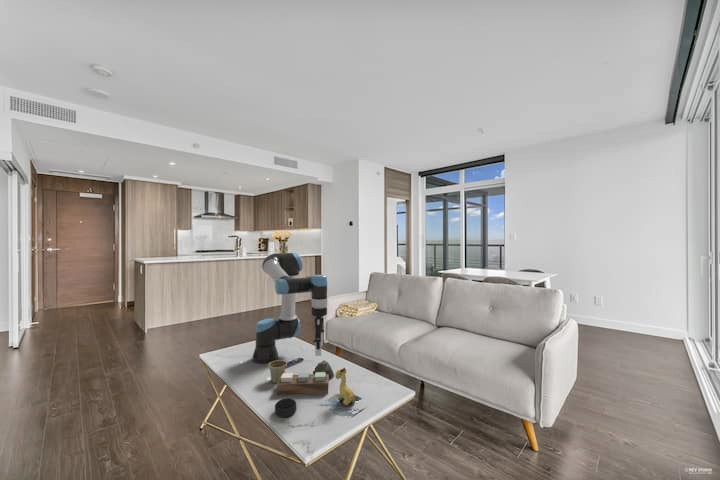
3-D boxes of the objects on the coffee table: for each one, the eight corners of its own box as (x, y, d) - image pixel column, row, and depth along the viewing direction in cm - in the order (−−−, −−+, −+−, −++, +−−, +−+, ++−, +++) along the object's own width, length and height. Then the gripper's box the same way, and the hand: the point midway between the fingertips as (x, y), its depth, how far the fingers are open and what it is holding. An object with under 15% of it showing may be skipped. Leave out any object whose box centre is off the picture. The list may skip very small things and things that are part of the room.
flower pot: (282, 385, 154) (282, 368, 154) (264, 383, 156) (264, 366, 156) (289, 377, 164) (290, 361, 164) (273, 375, 165) (273, 359, 165)
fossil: (307, 375, 164) (314, 356, 168) (319, 379, 170) (325, 360, 174) (320, 381, 157) (327, 361, 160) (332, 384, 163) (339, 365, 166)
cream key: (282, 378, 152) (282, 373, 152) (293, 378, 153) (293, 373, 153) (281, 383, 147) (281, 377, 147) (291, 382, 148) (291, 377, 148)
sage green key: (315, 377, 153) (315, 372, 153) (325, 377, 154) (325, 372, 154) (314, 382, 148) (314, 376, 148) (325, 381, 149) (325, 376, 149)
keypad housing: (280, 385, 155) (280, 375, 155) (328, 383, 156) (328, 373, 156) (276, 395, 145) (276, 384, 145) (328, 393, 146) (328, 383, 146)
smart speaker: (278, 406, 135) (278, 397, 135) (298, 406, 135) (298, 397, 135) (272, 418, 126) (272, 408, 126) (293, 418, 126) (293, 409, 126)
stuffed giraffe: (342, 391, 149) (342, 358, 148) (372, 404, 138) (372, 370, 137) (318, 406, 137) (318, 371, 136) (348, 422, 125) (348, 384, 125)
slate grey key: (299, 377, 153) (299, 372, 153) (309, 377, 153) (309, 372, 153) (297, 382, 148) (297, 377, 148) (308, 382, 148) (308, 377, 148)
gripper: (313, 301, 163) (313, 342, 163) (309, 312, 138) (308, 360, 138) (328, 301, 163) (327, 341, 163) (325, 312, 139) (325, 360, 138)
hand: (319, 350), depth 151 cm, fingers open, 13 cm apart
